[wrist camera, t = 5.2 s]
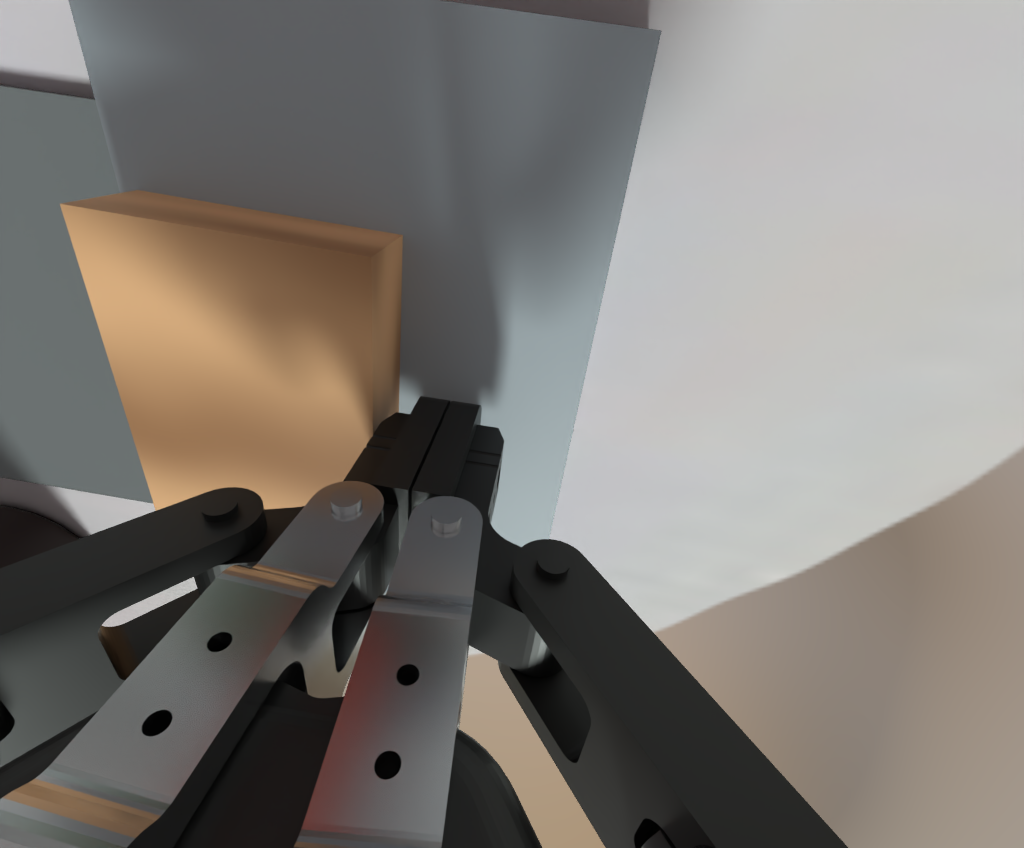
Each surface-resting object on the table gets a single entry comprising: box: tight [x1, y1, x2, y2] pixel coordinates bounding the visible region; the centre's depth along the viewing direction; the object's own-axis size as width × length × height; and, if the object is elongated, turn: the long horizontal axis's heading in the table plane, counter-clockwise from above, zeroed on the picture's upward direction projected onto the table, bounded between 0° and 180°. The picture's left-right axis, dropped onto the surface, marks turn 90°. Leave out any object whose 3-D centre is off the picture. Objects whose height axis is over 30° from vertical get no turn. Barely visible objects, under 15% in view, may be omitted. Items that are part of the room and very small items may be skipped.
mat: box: [0, 85, 153, 503], centre depth 16 cm, size 13×9×1 cm
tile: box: [60, 190, 403, 511], centre depth 13 cm, size 9×6×2 cm, turn 172°
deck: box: [69, 0, 661, 590], centre depth 14 cm, size 16×11×2 cm
